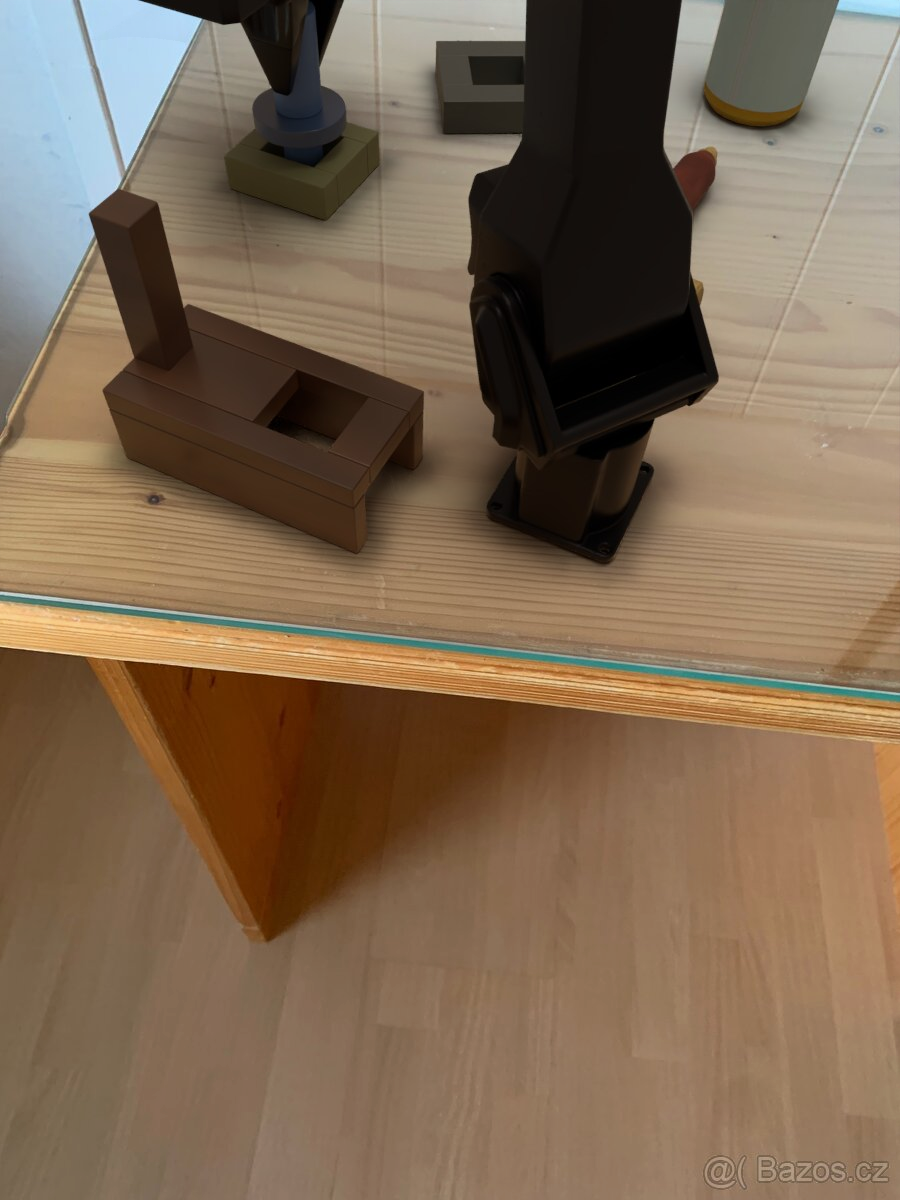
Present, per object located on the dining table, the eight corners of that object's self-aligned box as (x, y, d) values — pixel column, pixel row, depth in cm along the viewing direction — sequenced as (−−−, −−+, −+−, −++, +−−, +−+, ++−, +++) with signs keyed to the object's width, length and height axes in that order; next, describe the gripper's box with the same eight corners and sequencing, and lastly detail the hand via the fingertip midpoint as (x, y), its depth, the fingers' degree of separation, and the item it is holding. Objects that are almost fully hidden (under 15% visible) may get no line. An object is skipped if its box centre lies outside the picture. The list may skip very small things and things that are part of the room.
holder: (560, 133, 64) (564, 100, 62) (443, 133, 63) (444, 101, 61) (544, 72, 68) (548, 40, 66) (435, 72, 68) (436, 40, 66)
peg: (347, 203, 58) (336, 34, 50) (256, 200, 58) (231, 30, 50) (352, 153, 62) (343, -14, 53) (266, 150, 61) (244, -19, 53)
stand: (357, 554, 43) (341, 353, 33) (125, 457, 46) (47, 245, 36) (423, 457, 47) (426, 249, 37) (204, 372, 50) (152, 158, 40)
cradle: (326, 221, 57) (323, 188, 56) (229, 188, 59) (223, 155, 57) (380, 164, 61) (379, 131, 59) (287, 134, 62) (283, 102, 61)
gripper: (225, -348, 49) (264, -16, 61) (-25, -250, 39) (83, 119, 52) (417, -311, 46) (415, 26, 59) (200, -197, 37) (255, 176, 49)
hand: (296, 80), depth 55 cm, fingers closed on peg, 3 cm apart
